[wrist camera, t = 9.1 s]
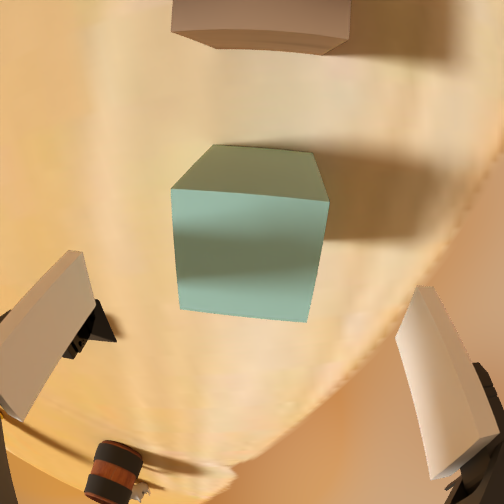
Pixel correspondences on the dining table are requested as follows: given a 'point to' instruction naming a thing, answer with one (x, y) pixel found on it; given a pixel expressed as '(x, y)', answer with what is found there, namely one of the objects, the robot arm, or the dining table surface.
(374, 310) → the dining table surface
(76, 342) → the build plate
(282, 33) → the walnut block
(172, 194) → the teal block
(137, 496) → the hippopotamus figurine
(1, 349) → the robot arm
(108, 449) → the mug
